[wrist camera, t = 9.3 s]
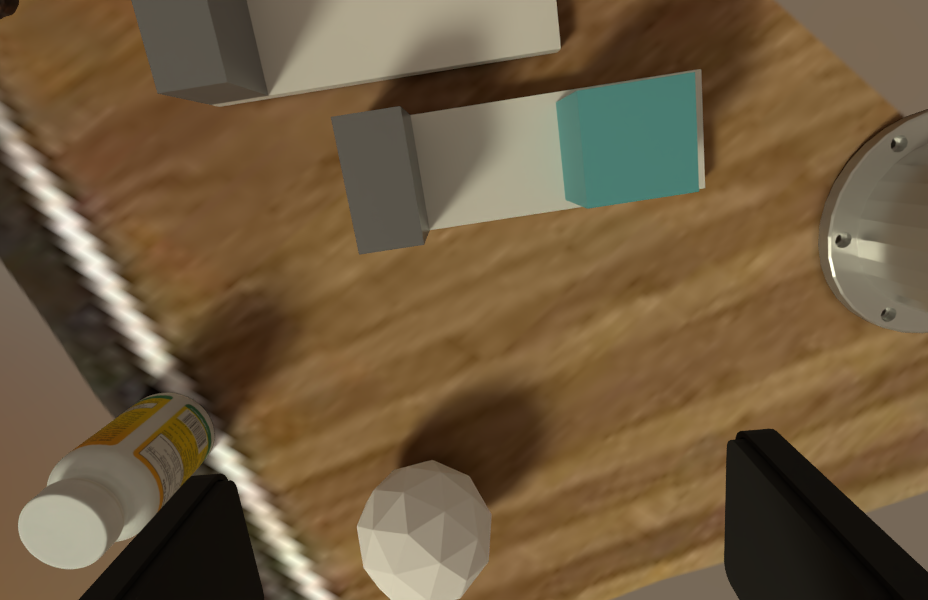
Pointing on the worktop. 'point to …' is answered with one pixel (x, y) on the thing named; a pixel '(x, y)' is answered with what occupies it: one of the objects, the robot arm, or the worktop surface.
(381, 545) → the ball
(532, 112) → the strip with cube
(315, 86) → the empty strip
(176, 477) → the supplement bottle
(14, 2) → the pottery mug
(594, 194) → the cube
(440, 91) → the worktop surface
